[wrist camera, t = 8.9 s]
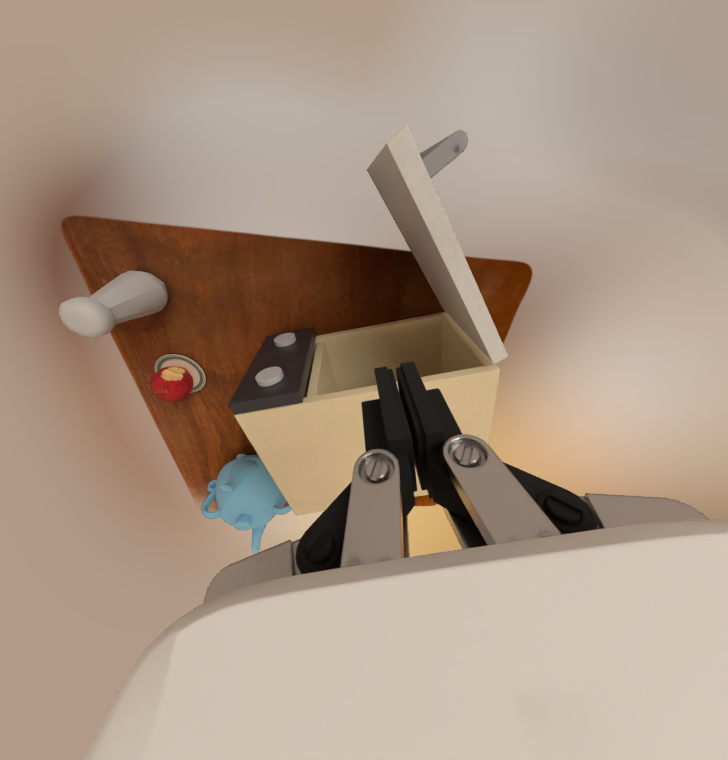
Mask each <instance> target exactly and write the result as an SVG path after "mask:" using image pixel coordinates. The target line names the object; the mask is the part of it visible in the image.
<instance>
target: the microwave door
mask: <svg viewBox="0 0 728 760" xmlns="http://www.w3.org/2000/svg"><path fill="white" fill-rule="evenodd" d="M467 143H468V137H467V134H466V133H465V132H464V131H463V130H458V131H456V132H454V133H453V134H451V135H450V136H448V137H446V138H445V139H443V140H442V141H440V142H438V143H436V144H435V145H433V146H432V147H430V148H428V149H427V150H425V151H424V152H422V153H420V154H419V152H418V149H417V147H416V145H415V142H414V140H413V138H412V136H411V133H410V131H409V129H408V127H407V126H405V127H404V128H403V129H402V130H401V131H400V132H399V133H398V134H397V135H395V136H394V137H393V138H392V139H391V140H390V141H389V142H388V143H387V144H386V145H385V147H384V148H383V149H382V150H381V152H380V153H379V155H378V156H377V157H376V158H375V160H374V161H373V162H372V164H371V165H370V166H369V168H368V169H367V171H368V173H369V174H370V176H371V178H372V180H373V182H374V184H375V185H376V187H377V189H378V191H379V193H380V195H381V197H382V198H383V200H384V202H385V204H386V206H387V207H388V209H389V211H390V213H391V215H392V217H393V219H394V220H395V222H396V224H397V226H398V228H399V230H400V231H401V233H402V235H403V237H404V239H405V241H406V242H407V244H408V246H409V248H410V250H411V252H412V253H413V255H414V257H415V259H416V261H417V263H418V264H419V266H420V268H421V270H422V272H423V274H424V275H425V277H426V279H427V281H428V283H429V285H430V286H431V288H432V290H433V292H434V294H435V296H436V298H437V299H438V301H439V303H440V305H441V307H442V308H443V310H444V311H445V312H446V313H447V314H448V315H449V316H450V317H451V318H452V319H453V320H454V322H455V323H456V324H457V325H458V326H459V327H460V328H461V329H462V330H463V331H464V332H465V333H466V335H467V336H468V337H469V338H470V339H471V340H472V341H473V342H474V343H475V344H476V345H477V347H478V348H479V349H480V350H481V351H482V352H483V353H484V354H485V355H486V356H487V357H488V359H489V360H490V361H491V362H492V363H493V364H495V363H497V362H499V361H501V360H502V359H504V358H506V357H508V355H507V353H506V351H505V348H504V346H503V344H502V341H501V339H500V337H499V335H498V332H497V330H496V328H495V325H494V323H493V321H492V319H491V316H490V314H489V312H488V309H487V307H486V305H485V303H484V300H483V298H482V296H481V293H480V291H479V289H478V286H477V284H476V282H475V280H474V277H473V275H472V273H471V270H470V268H469V266H468V264H467V261H466V259H465V257H464V254H463V252H462V250H461V248H460V246H459V243H458V241H457V239H456V236H455V234H454V232H453V230H452V227H451V225H450V222H449V220H448V218H447V216H446V213H445V211H444V209H443V206H442V204H441V202H440V200H439V197H438V195H437V193H436V190H435V188H434V186H433V184H432V181H431V178H432V177H433V176H434V175H435V174H437V173H438V172H439V171H440V170H442V169H443V168H444V167H445V166H446V165H448V164H449V163H450V162H451V161H453V160H454V159H455V158H456V157H457V156H459V155H460V154H461V153H462V152H463V151H464V150H465V149H466V147H467Z"/></svg>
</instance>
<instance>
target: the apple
mask: <svg viewBox="0 0 728 760" xmlns="http://www.w3.org/2000/svg"><path fill="white" fill-rule="evenodd" d="M155 372H156V373H155V374H154V376H153V377H152V379H151V389H152V393H154V394H155V395H157V396H158V397H159V398H161V399H163V400H167V401H179V400H181V399H183V398H185V397H186V396H187V395H188V394H190V393H191V392H196V391H198V390H200V389H201V388H202V387H203V386H204V384H205V381H206V378H205V374H204V372H203V370H202V368H201V367H200V366H199V365H198V364H197V363H196V362H194V361H193V360H191V359H189V358H187V357H185V356H182V355H177V354H169V355H164V356H162V357H161V358H159V359H158V360H157V362H156V364H155Z"/></svg>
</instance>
